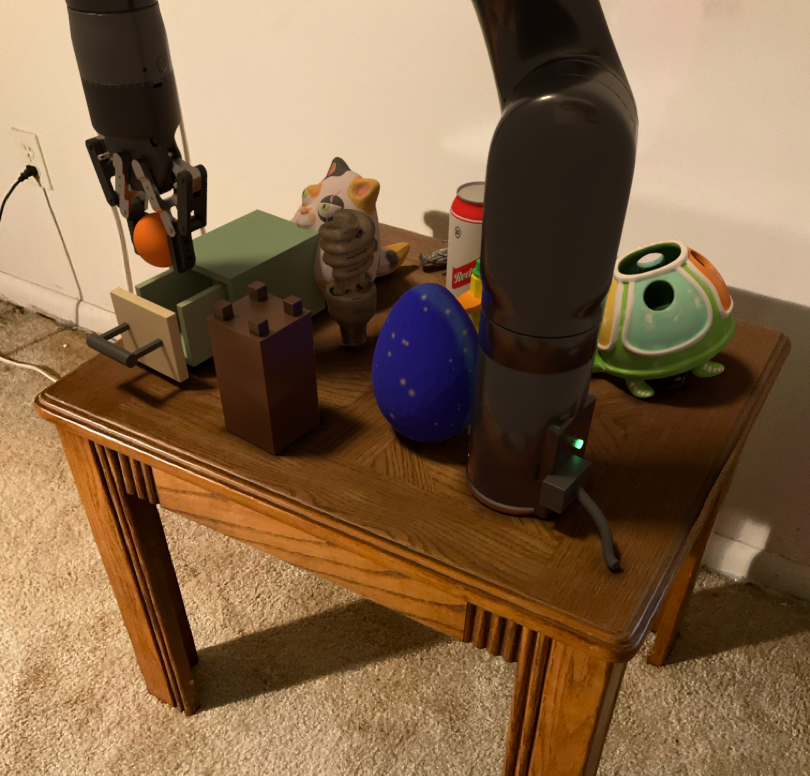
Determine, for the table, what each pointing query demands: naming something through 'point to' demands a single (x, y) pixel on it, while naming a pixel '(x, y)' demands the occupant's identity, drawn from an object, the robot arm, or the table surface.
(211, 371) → the table surface
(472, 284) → the toy figure
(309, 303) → the cabinet
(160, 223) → the ball
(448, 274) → the beer can
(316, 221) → the figurine
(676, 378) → the toy car
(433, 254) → the angel statue
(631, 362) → the turtle holder
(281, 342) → the stand
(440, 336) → the ornament
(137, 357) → the drawer
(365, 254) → the light bulb
